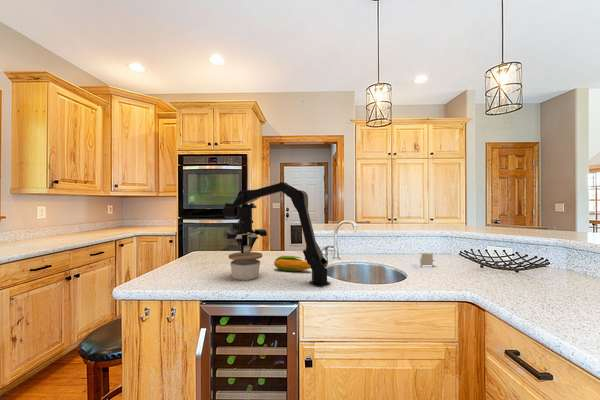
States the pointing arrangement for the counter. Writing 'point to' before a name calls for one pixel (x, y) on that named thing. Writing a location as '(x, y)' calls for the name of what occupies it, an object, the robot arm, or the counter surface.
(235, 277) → the ramekin
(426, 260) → the architectural model
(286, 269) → the corn
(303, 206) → the robot arm
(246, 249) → the lid
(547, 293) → the counter surface
